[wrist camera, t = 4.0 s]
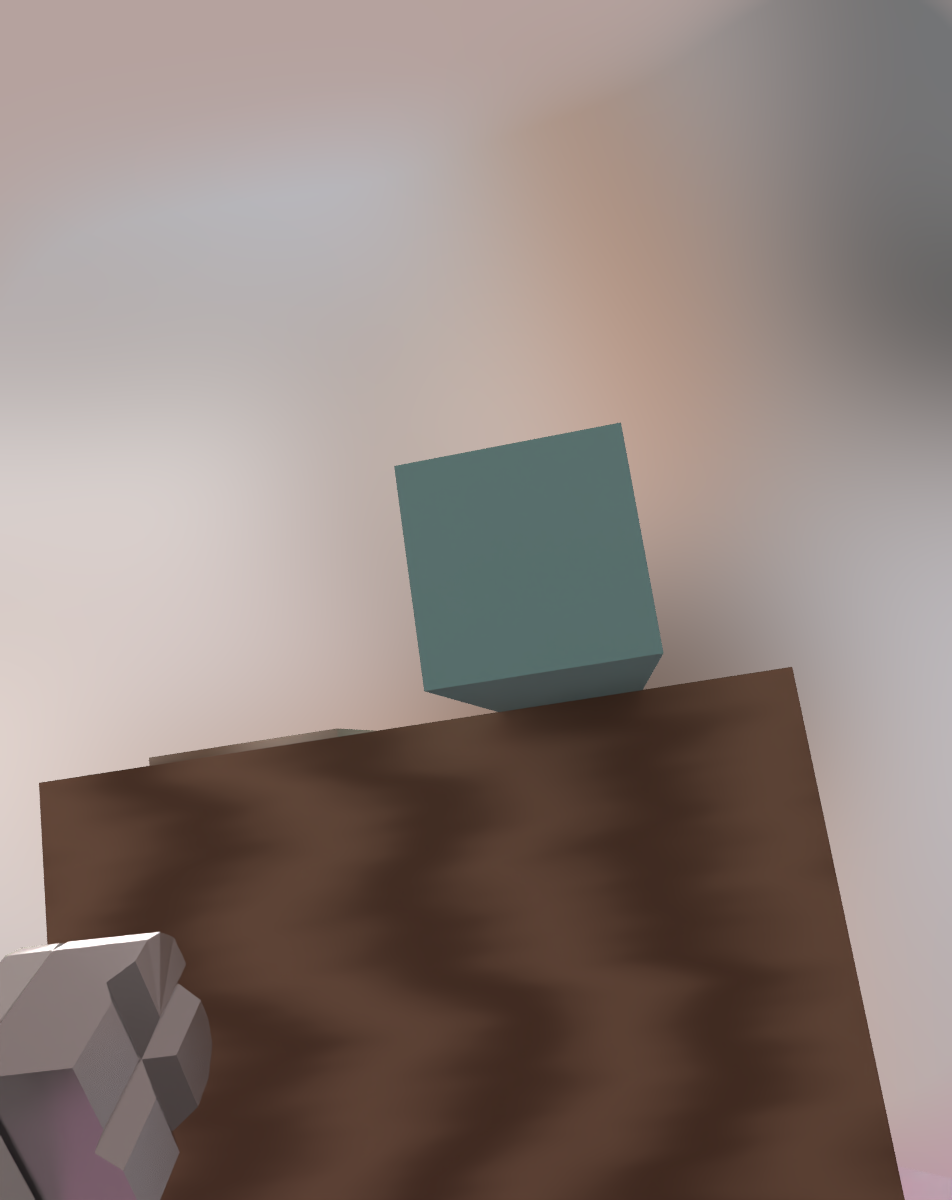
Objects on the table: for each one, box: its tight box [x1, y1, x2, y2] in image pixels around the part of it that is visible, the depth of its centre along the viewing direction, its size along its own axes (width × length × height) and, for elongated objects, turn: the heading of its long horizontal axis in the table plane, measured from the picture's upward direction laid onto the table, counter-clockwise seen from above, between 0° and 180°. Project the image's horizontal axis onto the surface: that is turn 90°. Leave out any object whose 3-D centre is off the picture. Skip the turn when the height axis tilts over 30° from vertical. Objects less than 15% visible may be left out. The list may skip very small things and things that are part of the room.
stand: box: [39, 667, 905, 1200], centre depth 31 cm, size 22×18×26 cm
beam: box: [395, 423, 663, 712], centre depth 28 cm, size 4×26×4 cm, turn 171°
